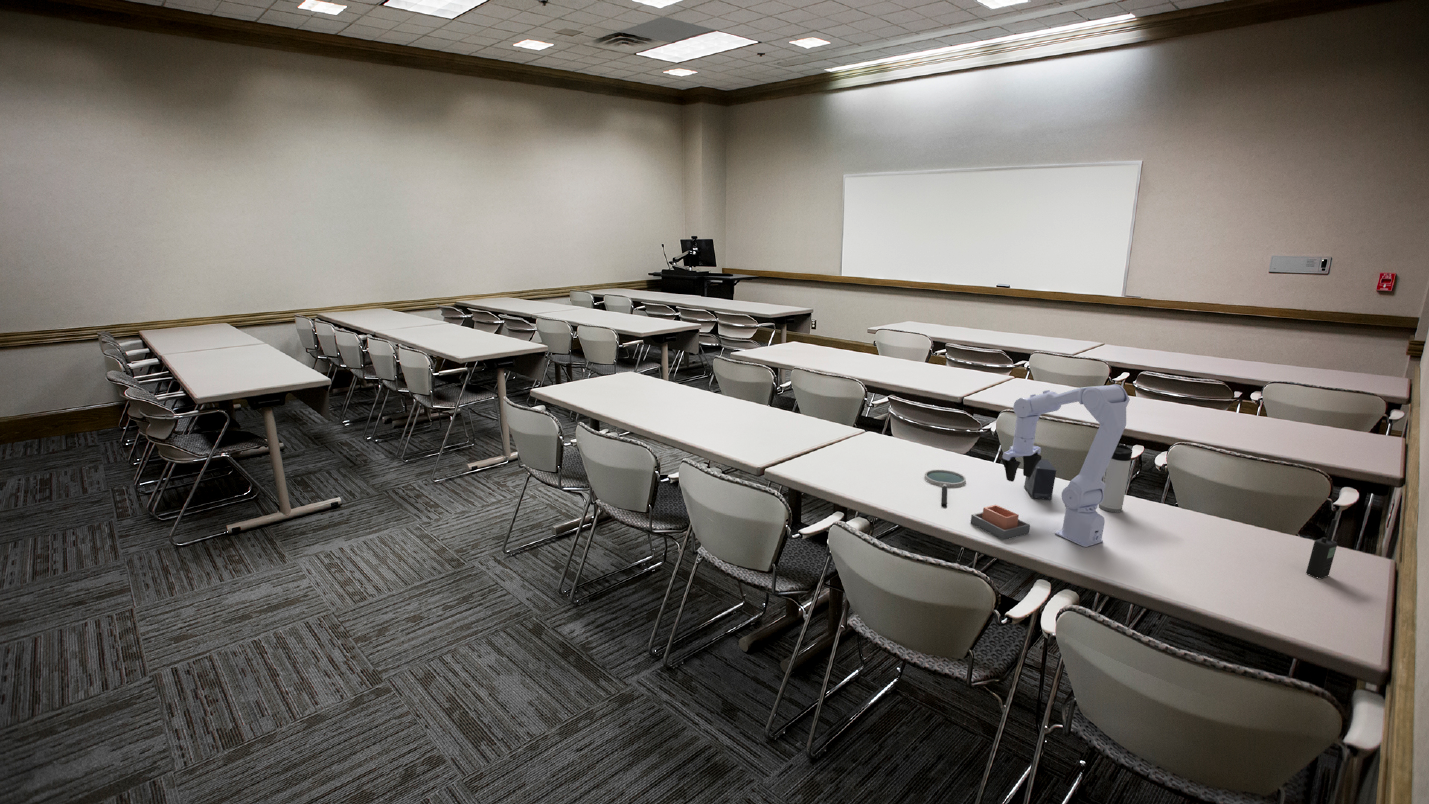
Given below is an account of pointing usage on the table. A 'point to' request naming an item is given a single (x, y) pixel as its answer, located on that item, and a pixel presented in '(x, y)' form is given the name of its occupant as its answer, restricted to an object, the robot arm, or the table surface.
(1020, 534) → the charcoal crate
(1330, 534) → the walkie-talkie
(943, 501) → the magnifying glass
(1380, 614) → the table surface
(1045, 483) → the small box
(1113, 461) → the travel mug
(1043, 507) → the table surface
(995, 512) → the terracotta crate
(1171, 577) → the table surface
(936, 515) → the table surface
